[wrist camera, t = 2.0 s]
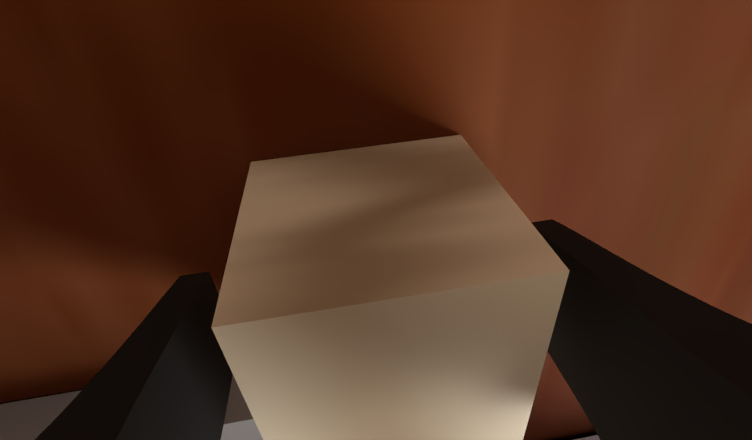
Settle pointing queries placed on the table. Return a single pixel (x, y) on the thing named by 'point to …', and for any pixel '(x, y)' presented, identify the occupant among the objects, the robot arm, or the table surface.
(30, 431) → the plate
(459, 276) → the maple cube
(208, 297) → the robot arm
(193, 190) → the table surface
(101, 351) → the table surface
